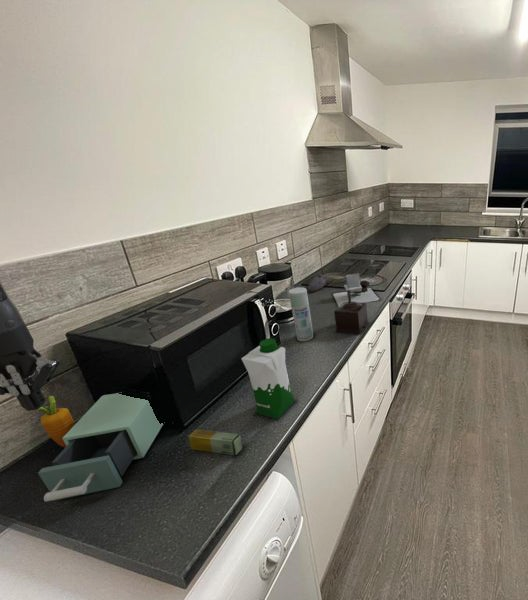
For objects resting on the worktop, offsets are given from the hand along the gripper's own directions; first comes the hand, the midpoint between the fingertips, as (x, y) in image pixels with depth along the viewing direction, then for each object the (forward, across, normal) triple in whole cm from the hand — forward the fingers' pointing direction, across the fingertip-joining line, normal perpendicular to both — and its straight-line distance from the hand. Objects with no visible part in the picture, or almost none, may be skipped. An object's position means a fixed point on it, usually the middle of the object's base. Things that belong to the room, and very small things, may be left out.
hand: (36, 407), depth 62 cm
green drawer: (+20, -4, 0) cm, 20 cm away
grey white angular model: (+20, -69, -91) cm, 116 cm away
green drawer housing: (+21, -4, -11) cm, 24 cm away
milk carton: (+20, -39, -14) cm, 46 cm away
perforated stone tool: (+20, -50, -109) cm, 121 cm away
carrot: (+21, +8, -12) cm, 25 cm away
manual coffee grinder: (+20, -66, -59) cm, 91 cm away
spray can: (+20, -46, -54) cm, 73 cm away
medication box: (+20, -27, -2) cm, 34 cm away
